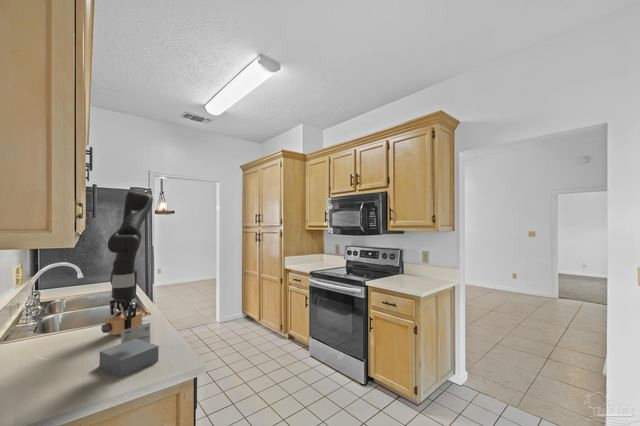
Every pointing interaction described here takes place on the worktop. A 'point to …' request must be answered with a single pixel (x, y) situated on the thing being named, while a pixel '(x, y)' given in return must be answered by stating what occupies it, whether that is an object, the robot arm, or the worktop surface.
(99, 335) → the worktop surface
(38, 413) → the worktop surface
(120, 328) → the block
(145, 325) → the light bulb box
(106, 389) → the worktop surface
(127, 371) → the stand
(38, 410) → the worktop surface
